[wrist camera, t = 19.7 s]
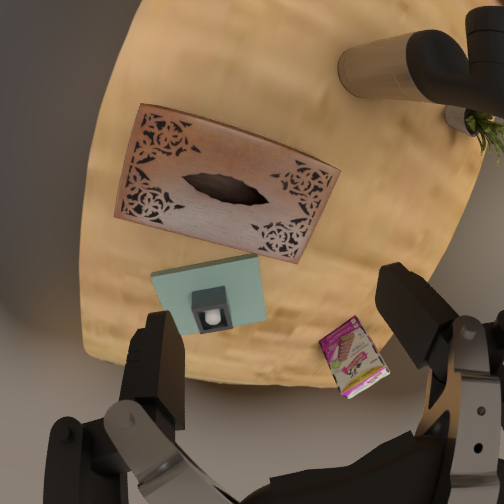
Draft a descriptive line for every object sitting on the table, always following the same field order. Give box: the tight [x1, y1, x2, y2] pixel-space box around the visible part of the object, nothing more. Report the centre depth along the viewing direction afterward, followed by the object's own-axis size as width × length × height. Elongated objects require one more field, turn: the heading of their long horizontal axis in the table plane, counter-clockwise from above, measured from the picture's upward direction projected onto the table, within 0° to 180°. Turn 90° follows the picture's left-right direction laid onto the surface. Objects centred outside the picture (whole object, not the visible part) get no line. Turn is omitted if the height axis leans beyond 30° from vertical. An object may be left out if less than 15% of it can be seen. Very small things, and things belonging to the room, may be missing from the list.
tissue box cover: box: [114, 103, 341, 264], centre depth 36 cm, size 26×14×10 cm, turn 69°
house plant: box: [445, 105, 504, 165], centre depth 33 cm, size 14×14×16 cm
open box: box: [191, 286, 233, 334], centre depth 48 cm, size 6×6×5 cm
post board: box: [151, 253, 267, 335], centre depth 48 cm, size 19×15×6 cm
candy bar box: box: [319, 316, 390, 399], centre depth 55 cm, size 11×5×16 cm, turn 130°
